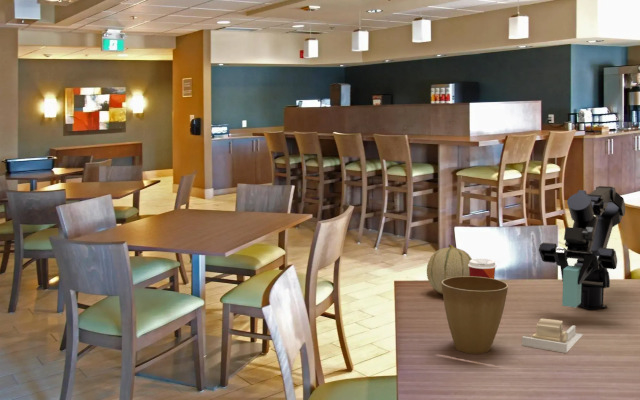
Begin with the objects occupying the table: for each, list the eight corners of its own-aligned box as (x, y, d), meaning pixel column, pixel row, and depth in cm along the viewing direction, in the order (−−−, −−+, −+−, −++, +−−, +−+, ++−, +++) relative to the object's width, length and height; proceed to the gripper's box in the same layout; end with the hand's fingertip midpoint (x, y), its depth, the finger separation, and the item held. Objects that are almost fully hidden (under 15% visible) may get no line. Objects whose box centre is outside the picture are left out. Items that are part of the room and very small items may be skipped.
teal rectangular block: (567, 301, 183) (568, 265, 181) (580, 302, 181) (582, 266, 179) (562, 305, 178) (563, 269, 177) (575, 307, 177) (577, 270, 175)
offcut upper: (540, 328, 167) (540, 318, 167) (562, 331, 165) (562, 320, 165) (536, 335, 162) (536, 325, 162) (558, 338, 160) (559, 327, 160)
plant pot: (494, 365, 152) (496, 293, 150) (430, 354, 159) (431, 285, 158) (514, 346, 164) (516, 279, 162) (454, 336, 172) (455, 272, 170)
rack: (541, 330, 176) (542, 320, 176) (583, 336, 171) (583, 326, 170) (521, 347, 163) (522, 336, 163) (565, 355, 158) (566, 344, 157)
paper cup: (496, 314, 190) (497, 264, 189) (467, 313, 192) (468, 263, 190) (494, 307, 198) (495, 258, 196) (467, 305, 200) (467, 257, 198)
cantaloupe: (437, 302, 203) (438, 252, 202) (419, 290, 218) (419, 243, 216) (484, 299, 207) (485, 249, 205) (462, 287, 221) (463, 240, 219)
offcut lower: (540, 337, 169) (540, 327, 168) (566, 341, 165) (566, 331, 165) (531, 345, 163) (532, 335, 162) (558, 350, 159) (558, 339, 159)
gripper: (541, 212, 185) (527, 261, 177) (616, 217, 175) (605, 269, 167) (549, 236, 192) (536, 284, 185) (621, 243, 182) (611, 294, 175)
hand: (570, 282), depth 178 cm, fingers closed on teal rectangular block, 3 cm apart
